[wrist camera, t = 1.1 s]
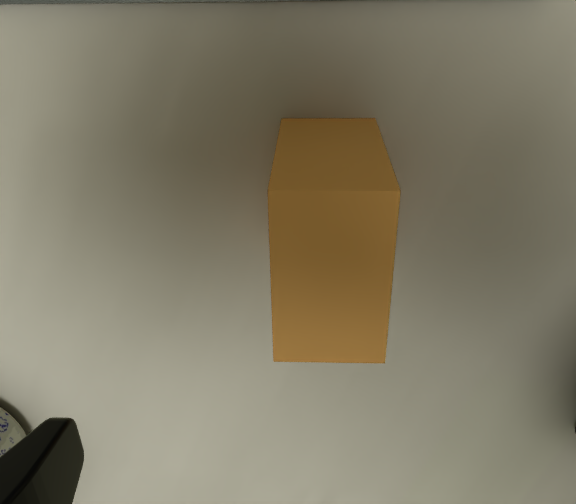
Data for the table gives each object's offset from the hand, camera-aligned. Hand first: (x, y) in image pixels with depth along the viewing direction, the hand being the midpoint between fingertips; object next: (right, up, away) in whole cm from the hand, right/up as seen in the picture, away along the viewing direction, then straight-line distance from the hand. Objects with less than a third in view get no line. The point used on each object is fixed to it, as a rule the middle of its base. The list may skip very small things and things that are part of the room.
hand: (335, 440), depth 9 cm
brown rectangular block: (+1, +5, +10) cm, 11 cm away
